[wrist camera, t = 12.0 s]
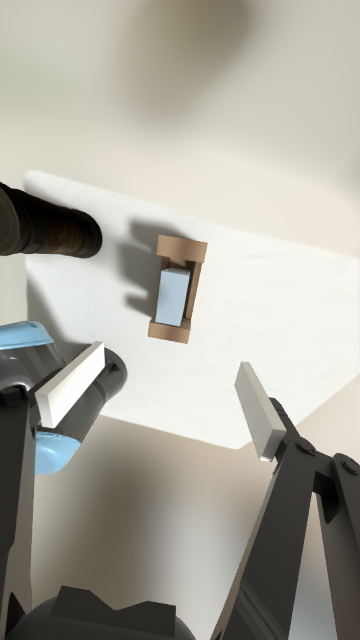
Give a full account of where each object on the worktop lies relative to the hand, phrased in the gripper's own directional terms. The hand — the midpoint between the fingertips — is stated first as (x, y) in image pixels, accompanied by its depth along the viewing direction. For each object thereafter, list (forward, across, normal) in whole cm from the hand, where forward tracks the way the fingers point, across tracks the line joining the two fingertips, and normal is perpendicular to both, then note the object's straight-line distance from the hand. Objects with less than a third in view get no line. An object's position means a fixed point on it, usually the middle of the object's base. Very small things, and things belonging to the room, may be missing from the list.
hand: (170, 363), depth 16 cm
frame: (+24, -1, +3) cm, 25 cm away
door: (+23, -2, +3) cm, 24 cm away
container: (+25, -23, +11) cm, 36 cm away
